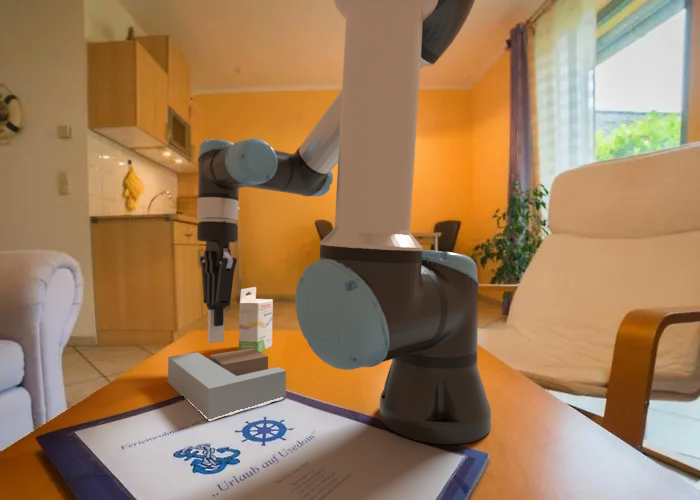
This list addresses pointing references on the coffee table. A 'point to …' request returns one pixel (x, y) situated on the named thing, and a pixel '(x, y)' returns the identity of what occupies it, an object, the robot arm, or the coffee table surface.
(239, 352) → the walnut block
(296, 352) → the coffee table surface
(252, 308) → the ink box
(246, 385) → the gray l-shaped block
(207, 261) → the robot arm
